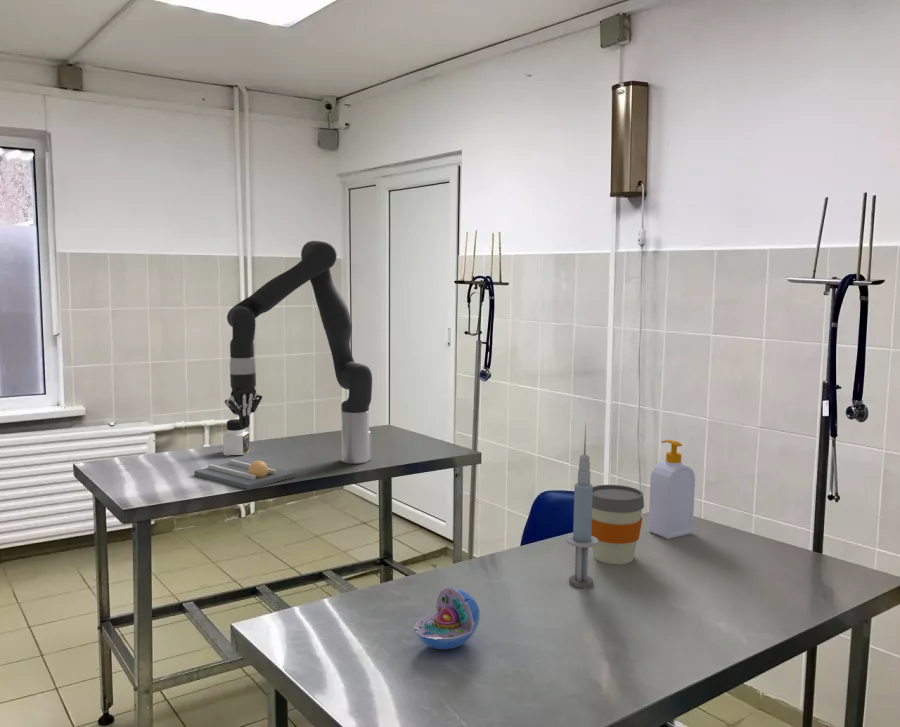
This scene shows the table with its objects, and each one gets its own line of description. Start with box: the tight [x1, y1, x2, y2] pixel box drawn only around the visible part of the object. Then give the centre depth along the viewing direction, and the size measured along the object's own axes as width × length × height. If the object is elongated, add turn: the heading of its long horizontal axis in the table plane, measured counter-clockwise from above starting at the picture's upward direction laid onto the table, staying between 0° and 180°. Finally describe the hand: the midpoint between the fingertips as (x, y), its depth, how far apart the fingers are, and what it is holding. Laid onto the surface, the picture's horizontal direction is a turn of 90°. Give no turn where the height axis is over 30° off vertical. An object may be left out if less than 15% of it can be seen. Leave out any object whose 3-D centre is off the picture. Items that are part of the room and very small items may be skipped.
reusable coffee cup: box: [591, 484, 645, 565], centre depth 171 cm, size 13×13×15 cm
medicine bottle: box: [222, 418, 250, 456], centre depth 266 cm, size 7×7×12 cm
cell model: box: [413, 587, 481, 650], centre depth 129 cm, size 10×12×10 cm
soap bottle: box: [648, 439, 696, 540], centre depth 187 cm, size 9×7×23 cm
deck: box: [193, 458, 296, 491], centre depth 237 cm, size 18×26×3 cm
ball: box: [248, 460, 269, 479], centre depth 232 cm, size 6×6×6 cm
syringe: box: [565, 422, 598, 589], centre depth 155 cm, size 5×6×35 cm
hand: (244, 427), depth 235 cm, fingers closed
